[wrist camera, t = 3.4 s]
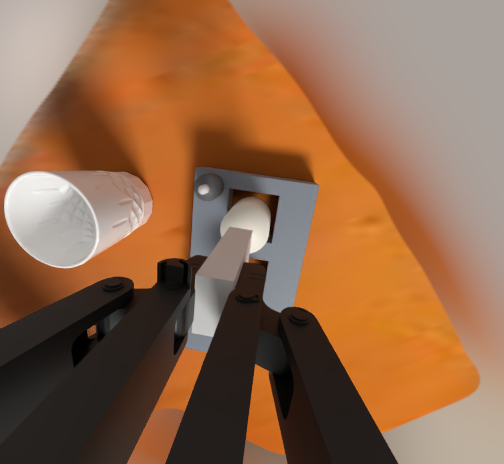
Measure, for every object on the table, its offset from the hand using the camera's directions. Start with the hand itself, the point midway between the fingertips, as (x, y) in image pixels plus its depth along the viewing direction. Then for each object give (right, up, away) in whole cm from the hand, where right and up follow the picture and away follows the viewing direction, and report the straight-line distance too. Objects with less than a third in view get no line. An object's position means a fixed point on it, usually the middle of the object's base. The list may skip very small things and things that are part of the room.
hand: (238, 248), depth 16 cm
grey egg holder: (0, -3, +14) cm, 14 cm away
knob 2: (+1, +3, +9) cm, 9 cm away
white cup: (-14, +5, +13) cm, 20 cm away
